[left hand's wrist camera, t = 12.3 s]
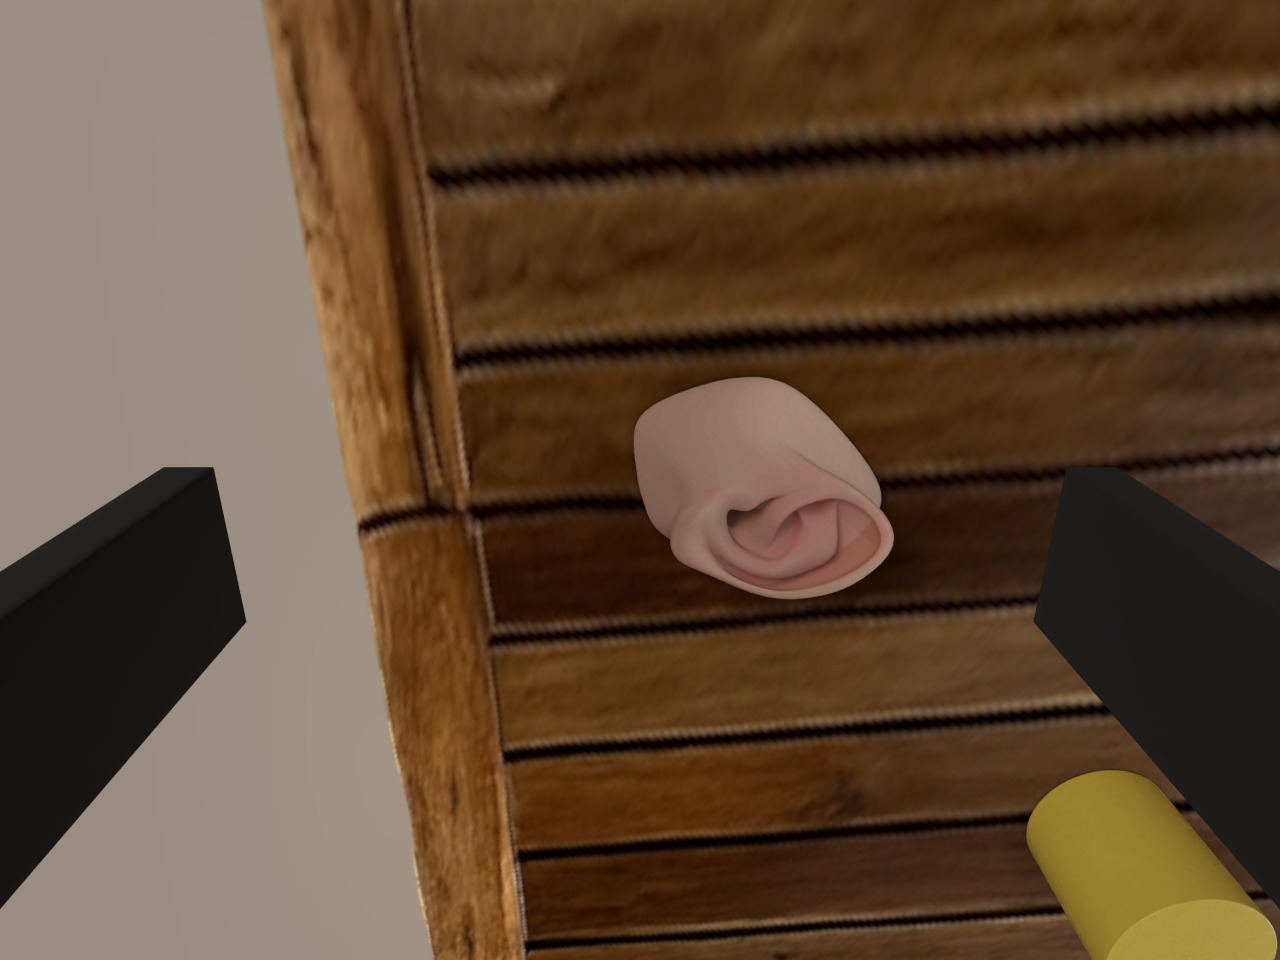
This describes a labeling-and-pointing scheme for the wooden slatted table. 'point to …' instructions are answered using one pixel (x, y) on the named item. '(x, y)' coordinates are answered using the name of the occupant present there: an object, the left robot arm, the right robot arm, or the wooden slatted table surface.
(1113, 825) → the yellow cylinder
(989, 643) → the wooden slatted table surface
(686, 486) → the anatomical model
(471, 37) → the wooden slatted table surface
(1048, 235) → the wooden slatted table surface
